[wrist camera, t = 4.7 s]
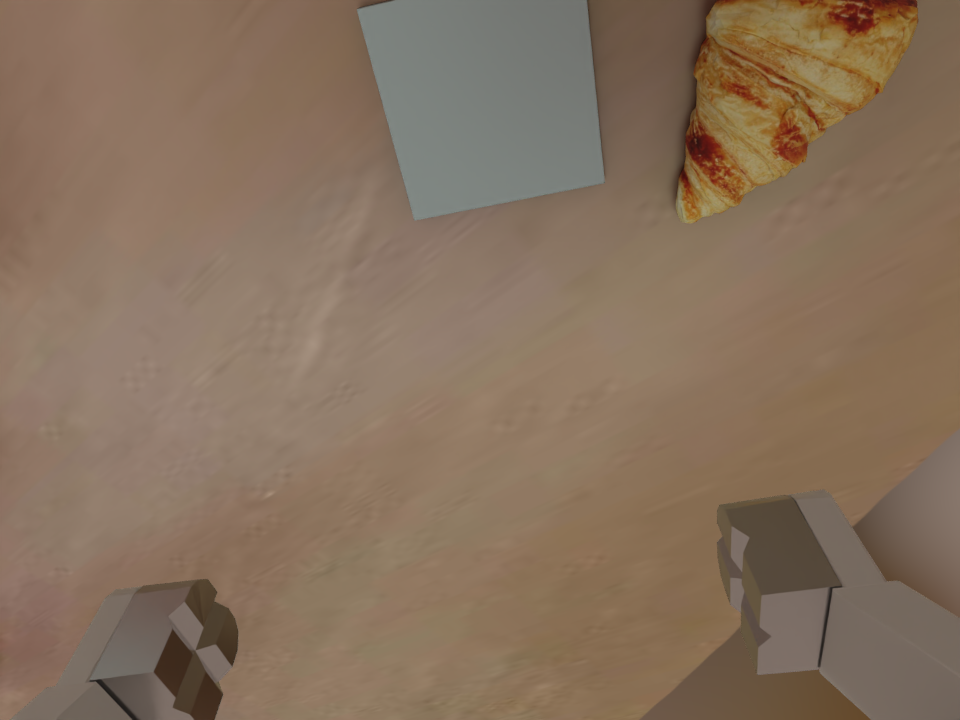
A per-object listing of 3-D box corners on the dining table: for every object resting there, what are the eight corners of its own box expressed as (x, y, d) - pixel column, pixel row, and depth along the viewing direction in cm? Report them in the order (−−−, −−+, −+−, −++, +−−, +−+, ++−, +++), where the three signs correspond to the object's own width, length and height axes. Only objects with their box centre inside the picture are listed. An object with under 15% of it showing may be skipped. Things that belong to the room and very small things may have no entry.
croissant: (700, 207, 45) (784, 271, 40) (596, 185, 39) (679, 256, 34) (923, -153, 34) (1077, -127, 29) (822, -257, 28) (993, -247, 23)
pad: (579, -45, 34) (582, -44, 33) (602, 177, 40) (604, 183, 40) (359, 7, 35) (356, 9, 34) (415, 214, 42) (414, 220, 41)
